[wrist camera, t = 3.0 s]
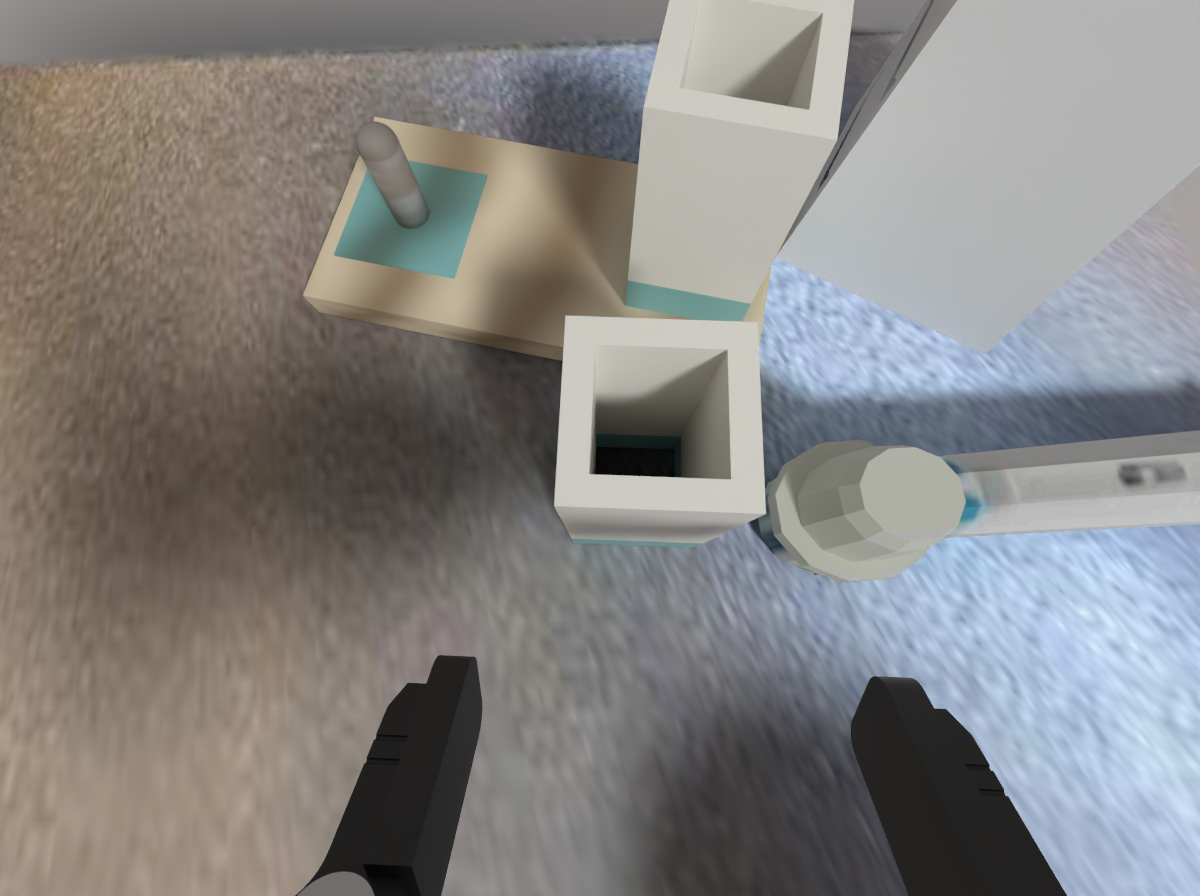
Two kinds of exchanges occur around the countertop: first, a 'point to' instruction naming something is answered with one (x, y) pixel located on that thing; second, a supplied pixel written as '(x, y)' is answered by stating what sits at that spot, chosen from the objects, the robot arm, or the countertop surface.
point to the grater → (1003, 156)
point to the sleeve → (660, 429)
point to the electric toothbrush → (968, 497)
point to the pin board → (481, 239)
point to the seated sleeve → (731, 147)
